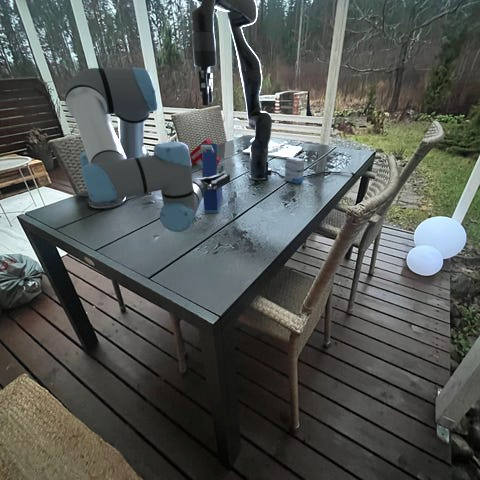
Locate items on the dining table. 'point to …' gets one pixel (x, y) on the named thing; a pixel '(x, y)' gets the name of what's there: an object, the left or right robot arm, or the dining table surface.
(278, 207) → the dining table surface
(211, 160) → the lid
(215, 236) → the dining table surface
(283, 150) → the relief map
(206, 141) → the toy gun
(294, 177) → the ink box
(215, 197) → the chest
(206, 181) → the left robot arm
